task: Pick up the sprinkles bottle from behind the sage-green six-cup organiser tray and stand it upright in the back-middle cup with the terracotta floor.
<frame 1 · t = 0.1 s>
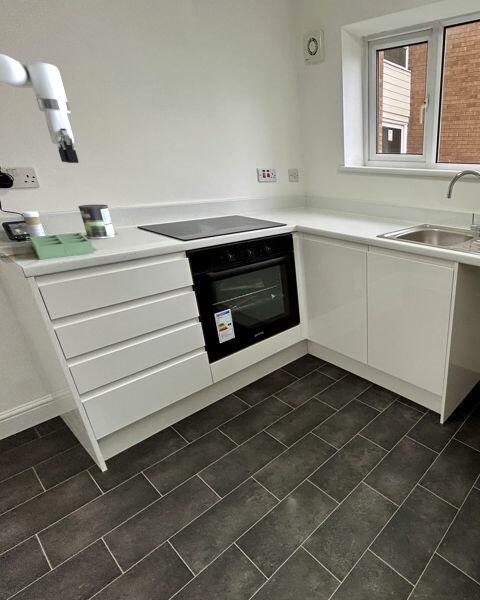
hand: (70, 162, 122), 33 cm above the countertop, tool pointing down, fingers open, 9 cm apart
grid tray: (63, 250, 138), on the countertop
sprinkles bottle: (41, 245, 146), on the countertop
coffee can: (101, 237, 164), on the countertop
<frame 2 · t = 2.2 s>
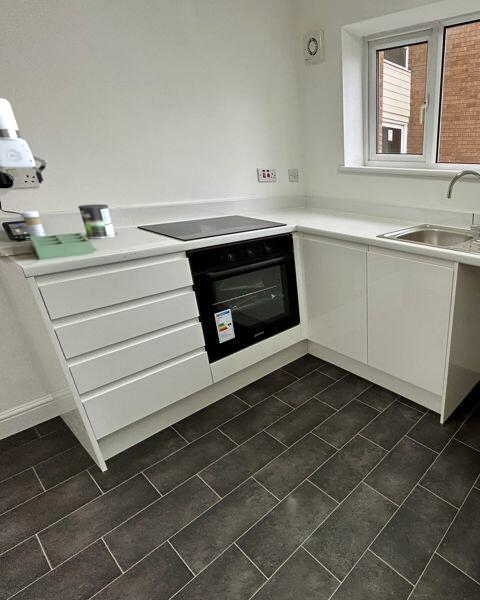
hand: (23, 183, 136), 24 cm above the countertop, tool pointing down, fingers open, 9 cm apart
nothing on the countertop moved.
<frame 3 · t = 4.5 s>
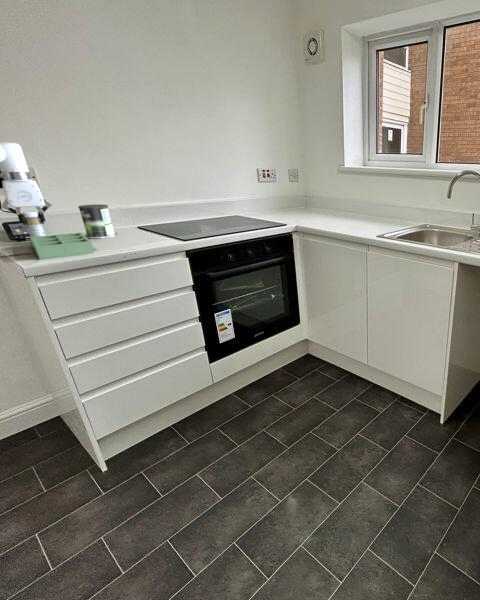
hand: (33, 223, 143), 9 cm above the countertop, tool pointing down, fingers closed on sprinkles bottle, 4 cm apart
sprinkles bottle: (41, 245, 146), on the countertop, touching gripper
everything else where it was.
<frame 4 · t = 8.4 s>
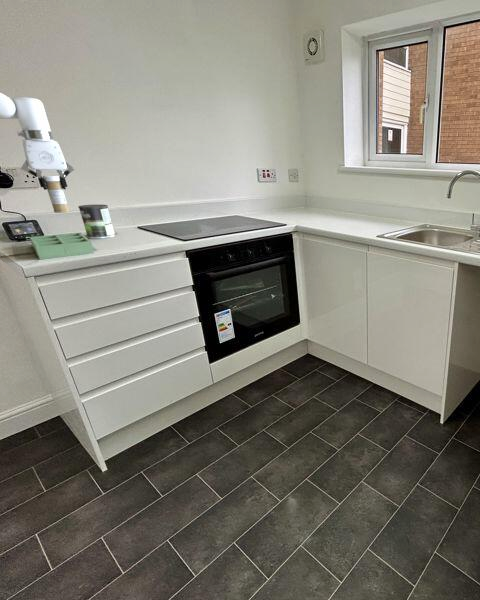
hand: (54, 188, 133), 23 cm above the countertop, tool pointing down, fingers closed on sprinkles bottle, 4 cm apart
sprinkles bottle: (62, 212, 136), point 14 cm above the countertop, touching gripper
everything else where it was.
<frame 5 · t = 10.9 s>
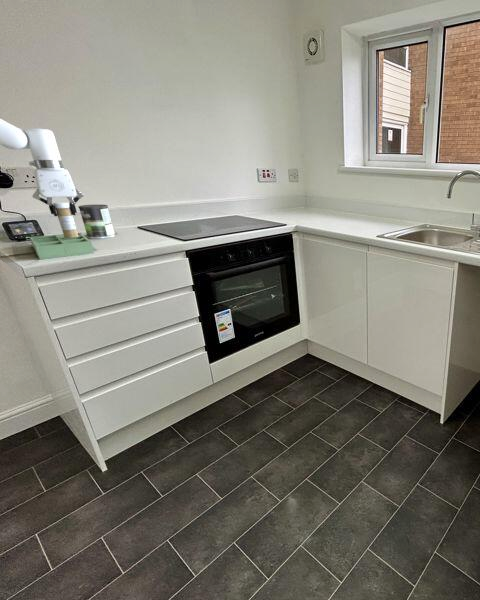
hand: (64, 214, 136), 14 cm above the countertop, tool pointing down, fingers closed on sprinkles bottle, 4 cm apart
sprinkles bottle: (71, 237, 139), point 5 cm above the countertop, touching gripper
everything else where it was.
when the fingers open (10 cm above the countertop, at t = 12.5 s): sprinkles bottle stays where it is, resting on grid tray.
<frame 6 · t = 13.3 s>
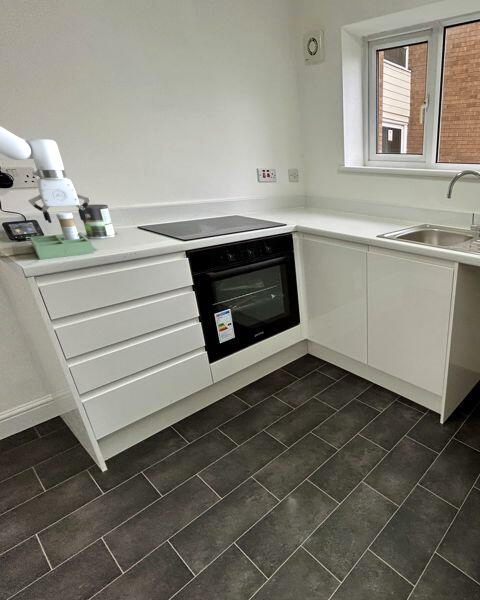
hand: (66, 221, 137), 11 cm above the countertop, tool pointing down, fingers open, 9 cm apart
sprinkles bottle: (74, 247, 141), point 1 cm above the countertop, touching grid tray
everything else where it was.
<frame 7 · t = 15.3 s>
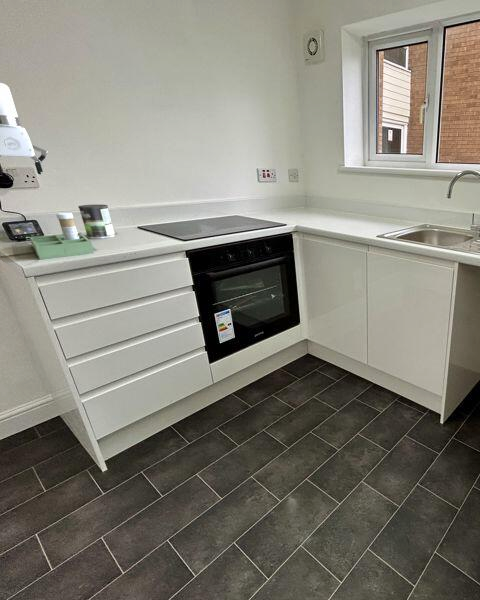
hand: (21, 173, 129), 28 cm above the countertop, tool pointing down, fingers open, 9 cm apart
nothing on the countertop moved.
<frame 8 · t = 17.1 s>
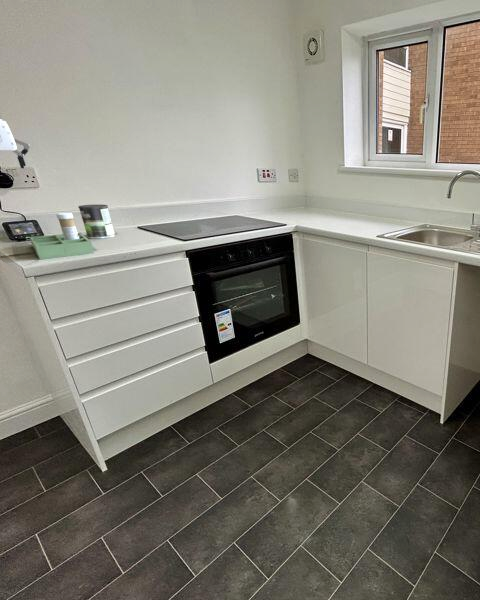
hand: (3, 168, 127), 30 cm above the countertop, tool pointing down, fingers open, 9 cm apart
nothing on the countertop moved.
at the end: sprinkles bottle 0.2 cm from the target spot in the grid tray, point 0.6 cm above the grid tray's base; sprinkles bottle tilted 0°; the gripper is holding nothing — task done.
